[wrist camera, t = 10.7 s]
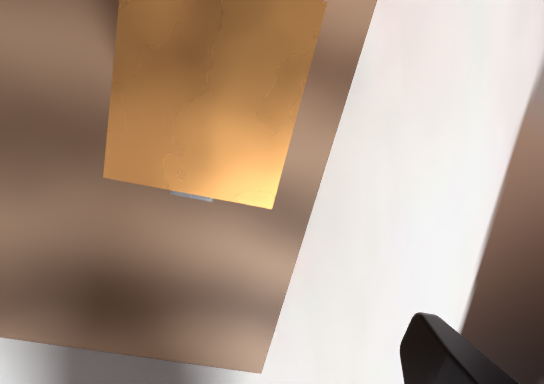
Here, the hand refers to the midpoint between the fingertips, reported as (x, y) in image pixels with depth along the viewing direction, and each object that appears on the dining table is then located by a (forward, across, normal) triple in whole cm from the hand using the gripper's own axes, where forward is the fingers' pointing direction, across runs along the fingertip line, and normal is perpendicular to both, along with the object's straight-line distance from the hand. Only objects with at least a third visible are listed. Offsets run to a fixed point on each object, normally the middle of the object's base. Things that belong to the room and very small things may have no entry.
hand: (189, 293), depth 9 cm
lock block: (+10, 0, -2) cm, 11 cm away
